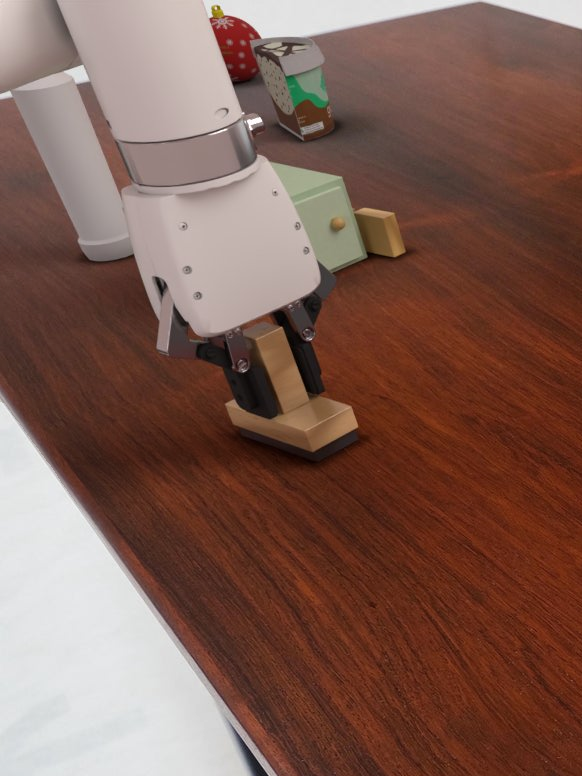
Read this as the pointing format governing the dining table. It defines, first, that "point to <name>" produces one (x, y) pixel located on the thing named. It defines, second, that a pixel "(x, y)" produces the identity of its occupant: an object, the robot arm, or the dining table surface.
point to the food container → (295, 84)
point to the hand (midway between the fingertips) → (284, 399)
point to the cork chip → (379, 232)
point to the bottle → (75, 164)
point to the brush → (291, 403)
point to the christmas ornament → (235, 44)
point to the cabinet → (324, 215)
